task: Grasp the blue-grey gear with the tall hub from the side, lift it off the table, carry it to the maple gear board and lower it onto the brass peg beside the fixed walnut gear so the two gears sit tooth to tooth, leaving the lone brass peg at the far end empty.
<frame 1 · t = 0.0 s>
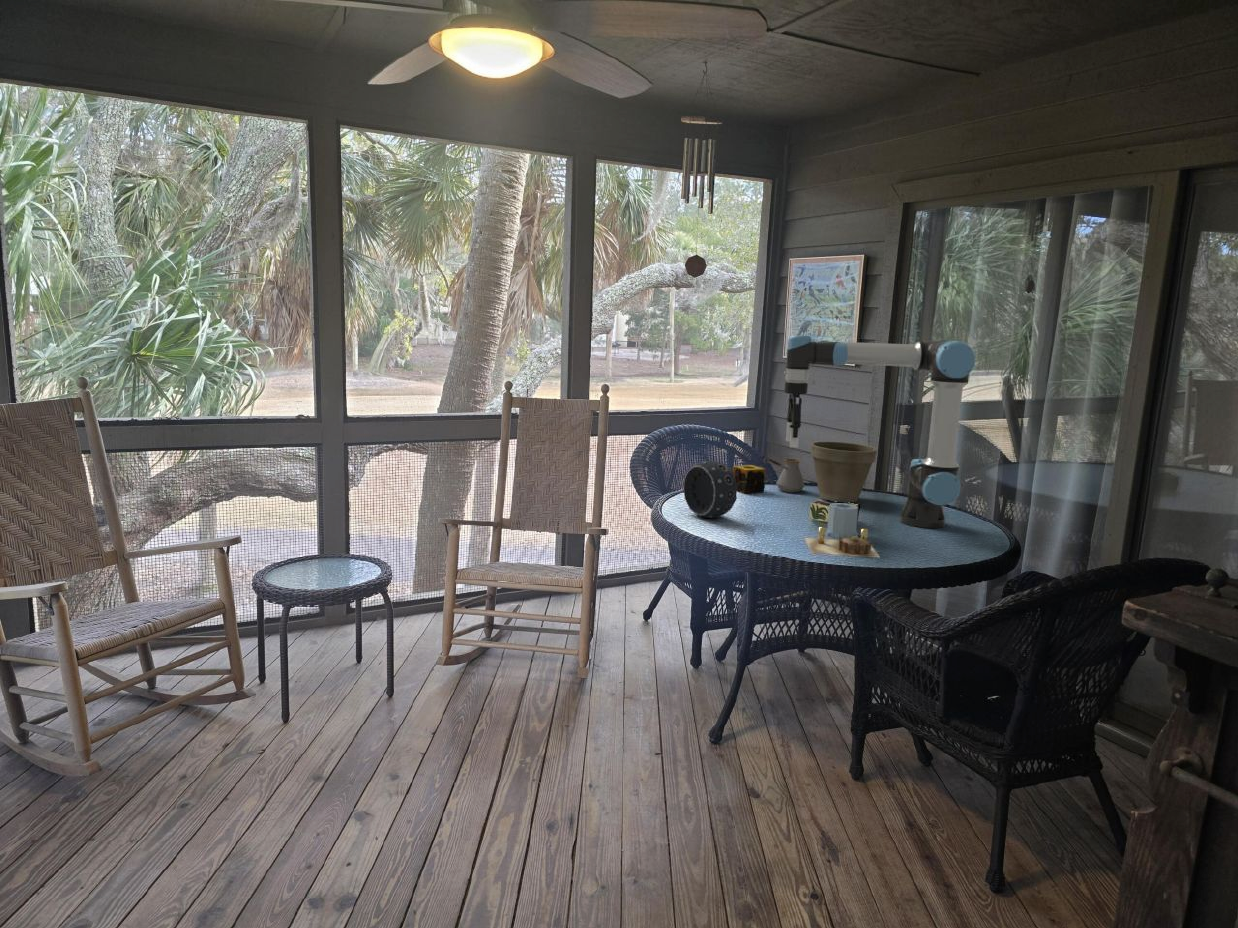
hand: (791, 444, 273), 28 cm above the table, tool pointing down, fingers open, 13 cm apart
candle: (747, 491, 330), on the table
far peg: (863, 544, 250), resting on gear board
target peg: (821, 542, 250), resting on gear board
blue gear: (840, 538, 261), on the table
gear board: (840, 551, 247), on the table
fixed gear: (854, 550, 243), resting on gear board
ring: (708, 517, 284), on the table
coffee pot: (781, 492, 330), on the table
plant pot: (839, 499, 320), on the table
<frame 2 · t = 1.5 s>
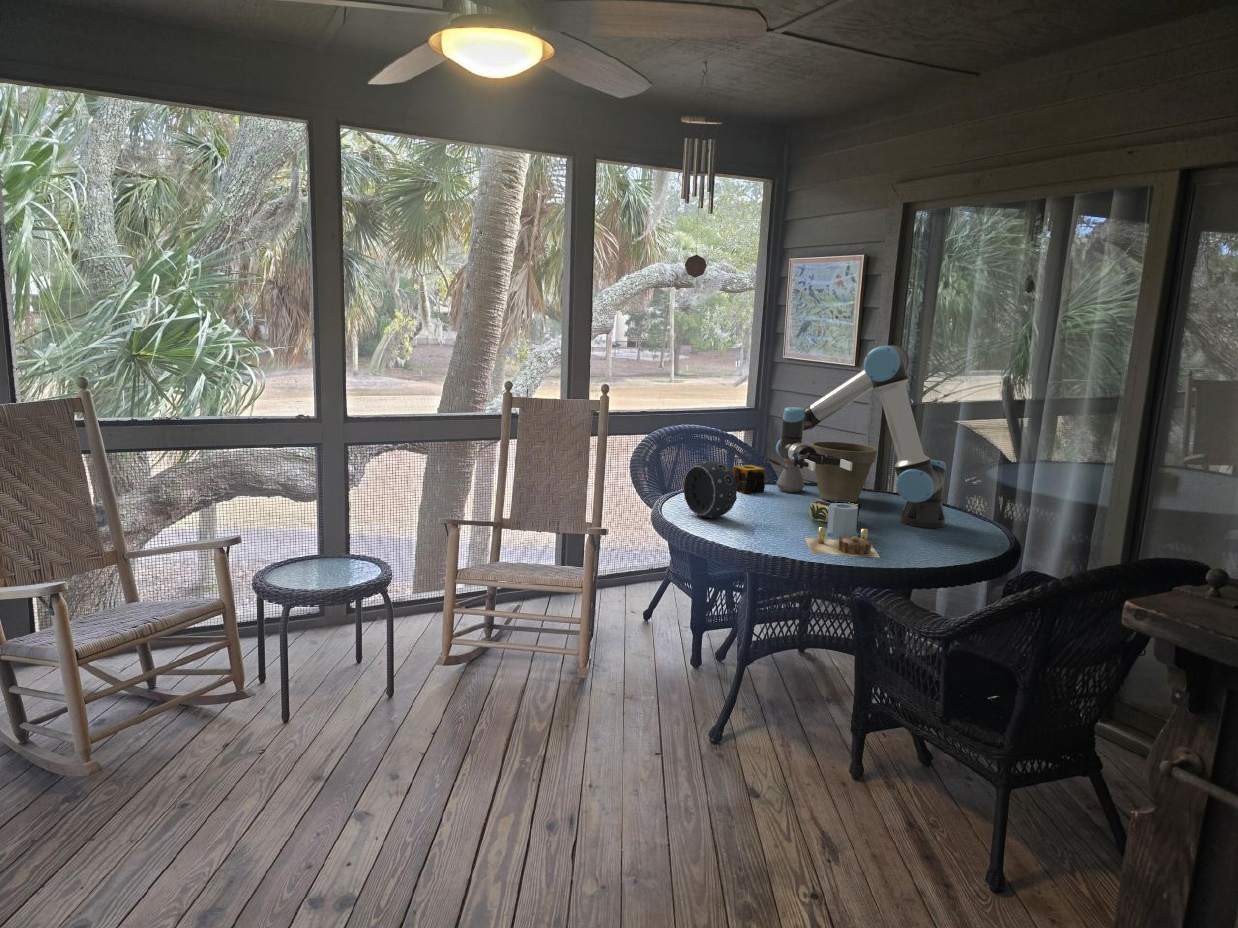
hand: (832, 466, 266), 22 cm above the table, tool horizontal, fingers open, 13 cm apart
nothing on the table moved.
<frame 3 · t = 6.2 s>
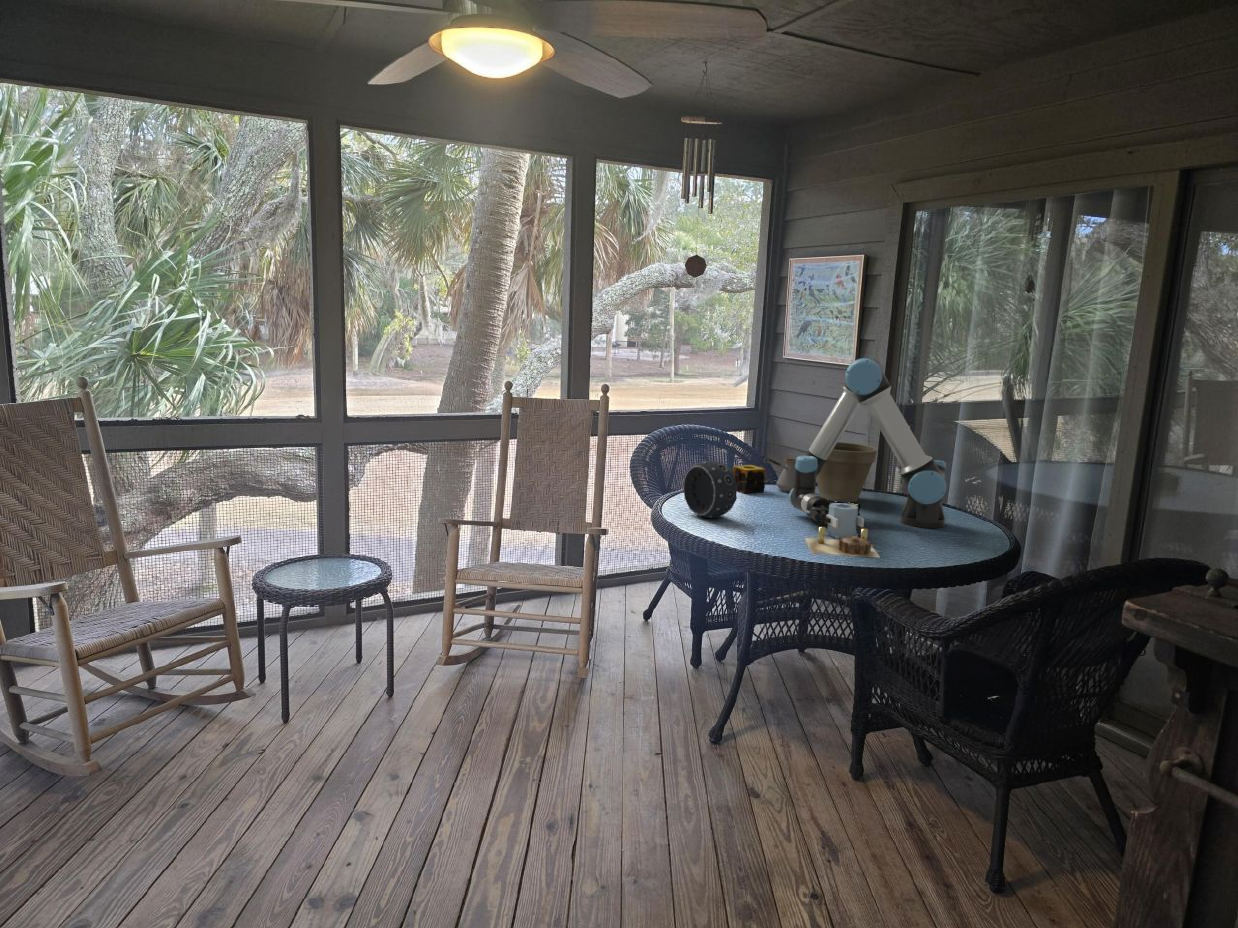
hand: (849, 523, 256), 6 cm above the table, tool horizontal, fingers closed on blue gear, 8 cm apart
blue gear: (840, 538, 261), on the table, touching gripper
everything else where it was.
when the fingers open (9 cm above the table, at t = 11.4 s): blue gear stays where it is, resting on gear board.
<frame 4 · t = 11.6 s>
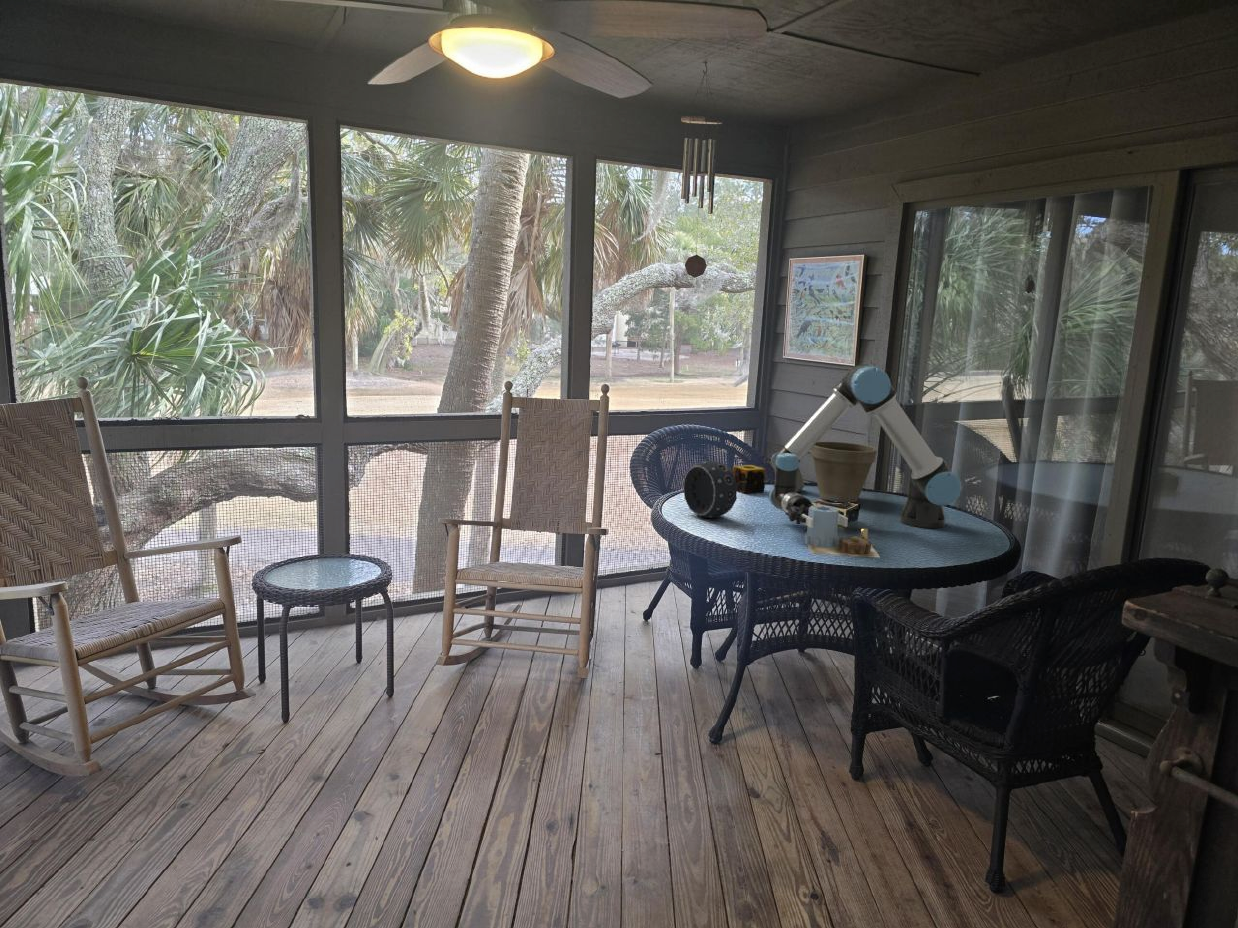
hand: (829, 522, 245), 9 cm above the table, tool horizontal, fingers open, 11 cm apart
blue gear: (821, 542, 250), point 1 cm above the table, touching gear board
everything else where it was.
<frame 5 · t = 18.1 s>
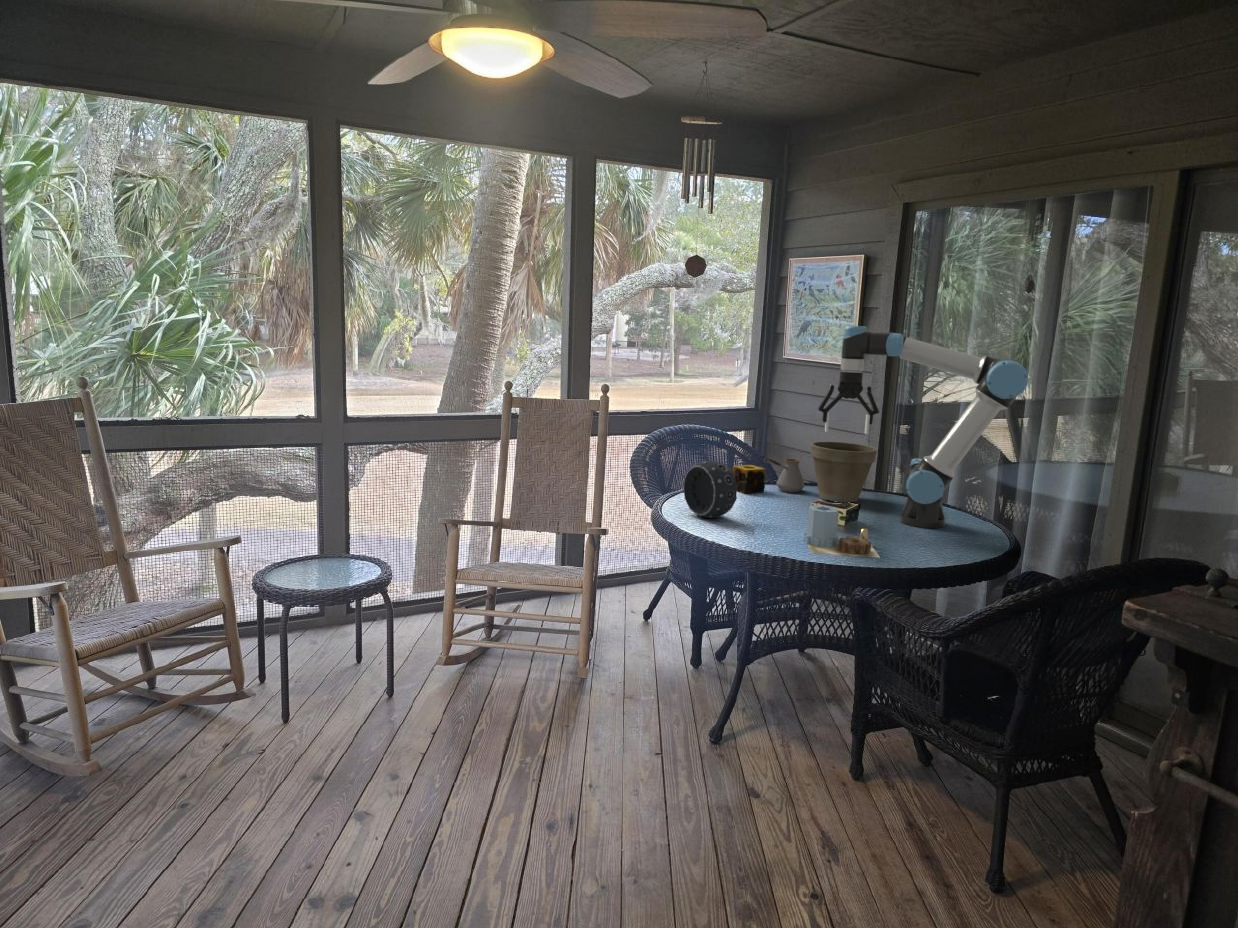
hand: (846, 432, 279), 32 cm above the table, tool pointing down, fingers open, 13 cm apart
nothing on the table moved.
at the end: blue gear 0.1 cm from the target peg (horizontally); blue gear point 1.5 cm above the table; blue gear tilted 0° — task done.
